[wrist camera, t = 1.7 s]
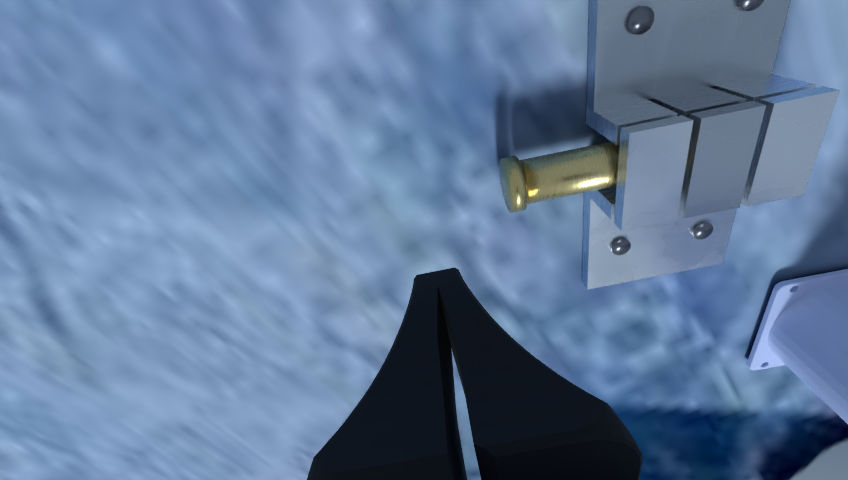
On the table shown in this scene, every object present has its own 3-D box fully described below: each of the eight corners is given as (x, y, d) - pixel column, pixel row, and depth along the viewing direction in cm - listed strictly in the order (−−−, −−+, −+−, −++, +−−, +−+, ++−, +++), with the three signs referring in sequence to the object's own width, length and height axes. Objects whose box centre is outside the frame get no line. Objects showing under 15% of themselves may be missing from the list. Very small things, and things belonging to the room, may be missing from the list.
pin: (687, 111, 19) (726, 127, 16) (679, 162, 20) (714, 182, 18) (497, 150, 19) (511, 171, 17) (501, 197, 20) (514, 222, 18)
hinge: (797, -97, 15) (912, -120, 12) (713, 255, 24) (766, 299, 21) (590, -50, 16) (646, -60, 12) (581, 281, 24) (612, 328, 21)
